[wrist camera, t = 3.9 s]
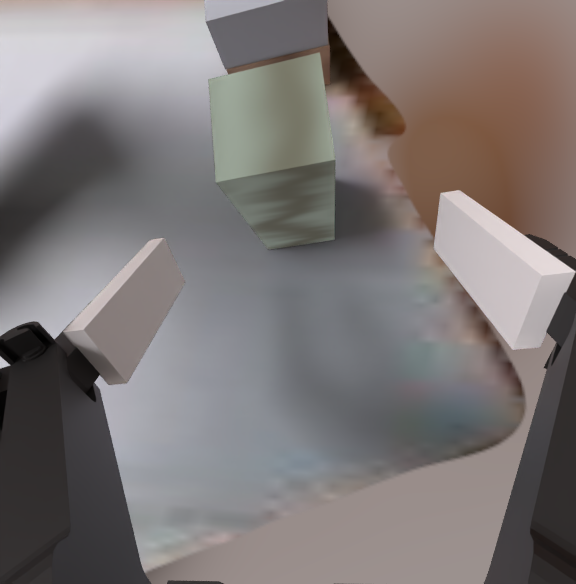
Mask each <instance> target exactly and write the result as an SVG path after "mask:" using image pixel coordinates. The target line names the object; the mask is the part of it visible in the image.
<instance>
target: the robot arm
mask: <svg viewBox="0 0 576 584" xmlns="http://www.w3.org/2000/svg"><path fill="white" fill-rule="evenodd" d="M434 250H435V251H436V252H437V254H438V255H439V256H440V257H441V259H442V260H443V261H444V263H445V264H446V265H447V266H448V268H449V269H450V270H451V272H452V273H453V274H454V275H455V277H456V278H457V279H458V281H459V282H460V283H461V284H462V286H463V287H464V288H465V289H466V291H467V292H468V293H469V295H470V296H471V297H472V298H473V300H474V301H475V302H476V304H477V305H478V306H479V307H480V309H481V310H482V311H483V313H484V314H485V315H486V316H487V318H488V319H489V320H490V321H491V323H492V324H493V325H494V327H495V328H496V329H497V330H498V332H499V333H500V334H501V335H502V337H503V338H504V339H505V341H506V342H507V343H508V345H509V346H510V347H511V348H512V350H517V349H528V348H540V347H541V344H542V342H543V340H544V338H545V336H546V334H547V333H548V334H549V335H550V336H551V337H552V338H553V339H554V340H555V341H556V342H557V343H556V345H555V347H554V349H553V351H552V352H551V354H550V356H549V358H548V360H547V362H546V364H545V366H544V368H546V369H547V371H546V374H545V378H544V382H543V385H542V388H541V392H540V395H539V399H538V402H537V406H536V409H535V413H534V416H533V419H532V424H531V427H530V430H529V434H528V437H527V440H526V444H525V447H524V451H523V454H522V458H521V461H520V465H519V468H518V471H517V475H516V478H515V482H514V485H513V489H512V492H511V496H510V499H509V503H508V506H507V510H506V513H505V516H504V520H503V523H502V527H501V531H500V534H499V537H498V541H497V544H496V548H495V551H494V554H493V558H492V561H491V565H490V568H489V571H488V574H487V577H486V580H485V582H484V584H576V259H575V258H573V257H572V256H568V254H567V253H565V252H564V251H562V250H561V249H558V247H556V246H555V245H553V244H552V243H550V242H549V241H547V240H545V239H542V238H539V237H536V236H533V235H530V234H528V235H523V234H521V233H520V232H518V231H517V230H515V229H514V228H513V227H511V226H510V225H508V224H507V223H505V222H504V221H503V220H501V219H500V218H498V217H497V216H495V215H494V214H492V213H491V212H490V211H488V210H487V209H485V208H484V207H483V206H481V205H480V204H478V203H477V202H475V201H474V200H473V199H471V198H470V197H468V196H467V195H465V194H464V193H462V192H461V191H460V190H457V191H451V192H444V193H441V194H440V202H439V210H438V218H437V226H436V234H435V242H434ZM184 284H185V280H184V278H183V276H182V274H181V272H180V270H179V268H178V265H177V263H176V261H175V259H174V257H173V255H172V253H171V251H170V249H169V246H168V244H167V242H166V240H165V238H159V239H152V240H150V241H149V242H148V243H147V244H146V245H145V246H144V247H143V248H142V249H141V250H140V251H139V252H138V253H137V254H136V255H135V256H134V257H133V259H132V260H131V261H130V262H129V263H128V264H127V265H126V266H125V267H124V268H123V269H122V270H121V271H120V272H119V273H118V274H117V275H116V276H115V277H114V278H113V279H112V281H111V282H110V283H109V284H108V285H107V286H106V287H105V288H104V289H103V290H102V291H101V292H100V293H99V294H98V295H97V296H96V297H95V298H94V299H93V300H92V301H91V302H90V303H89V304H88V305H87V306H86V307H85V308H84V309H83V311H82V312H81V313H80V314H79V315H78V316H77V317H76V318H75V319H74V320H73V321H72V322H71V323H70V324H69V325H68V326H67V327H66V328H65V329H64V330H63V331H62V333H61V334H60V335H59V336H58V337H57V338H56V339H55V340H54V339H53V338H52V337H51V336H50V334H49V333H48V332H47V331H46V330H45V329H44V328H43V327H42V326H41V325H40V324H39V323H38V322H29V323H25V324H22V325H19V326H17V327H15V328H13V329H11V330H9V331H8V332H6V333H5V334H3V335H2V336H0V356H1V357H2V358H3V359H4V360H5V361H7V362H8V363H9V364H10V366H7V367H4V368H1V369H0V584H151V582H150V581H149V579H148V578H147V577H146V575H145V573H144V571H143V568H142V565H141V562H140V558H139V553H138V549H137V545H136V541H135V536H134V532H133V528H132V524H131V520H130V515H129V511H128V507H127V503H126V498H125V494H124V490H123V486H122V482H121V477H120V473H119V469H118V465H117V461H116V456H115V452H114V448H113V444H112V439H111V435H110V431H109V427H108V423H107V418H106V414H105V410H104V406H103V401H102V397H101V393H100V389H99V388H98V386H97V385H96V384H95V383H94V382H95V381H96V379H97V378H98V376H99V375H100V376H101V377H102V378H103V379H104V380H105V381H106V382H107V384H108V385H113V384H125V383H128V381H129V379H130V378H131V376H132V374H133V372H134V371H135V369H136V367H137V365H138V364H139V362H140V360H141V359H142V357H143V355H144V353H145V352H146V350H147V348H148V346H149V345H150V343H151V341H152V340H153V338H154V336H155V334H156V333H157V331H158V329H159V327H160V326H161V324H162V322H163V320H164V319H165V317H166V315H167V314H168V312H169V310H170V308H171V307H172V305H173V303H174V301H175V300H176V298H177V296H178V295H179V293H180V291H181V289H182V288H183V286H184ZM167 584H223V583H221V582H217V581H168V582H167Z"/></svg>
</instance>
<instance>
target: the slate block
mask: <svg viewBox="0 0 576 584" xmlns="http://www.w3.org/2000/svg"><path fill="white" fill-rule="evenodd" d="M204 4H205V18H206V23H207V26H208V28H209V31H210V33H211V36H212V38H213V41H214V43H215V45H216V48H217V50H218V53H219V55H220V58H221V60H222V63H223V65H224V67H225V70H226V69H230V68H234V67H238V66H242V65H246V64H251V63H255V62H259V61H263V60H267V59H271V58H276V57H280V56H284V55H288V54H292V53H297V52H301V51H305V50H309V49H313V48H317V47H322V46H326V45H328V14H327V0H204Z"/></svg>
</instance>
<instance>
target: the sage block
mask: <svg viewBox="0 0 576 584" xmlns="http://www.w3.org/2000/svg"><path fill="white" fill-rule="evenodd" d="M208 82H209V96H210V110H211V124H212V138H213V152H214V166H215V179H216V183H217V185H218V186H219V187H220V188H221V190H222V191H223V192H224V194H225V195H226V196H227V197H228V199H229V200H230V201H231V203H232V204H233V205H234V206H235V208H236V209H237V210H238V212H239V213H240V214H241V215H242V217H243V218H244V219H245V221H246V222H247V223H248V224H249V226H250V227H251V228H252V230H253V231H254V232H255V233H256V235H257V236H258V237H259V239H260V240H261V241H262V242H263V244H264V245H265V246H266V248H267V249H268V250H271V249H278V248H285V247H291V246H298V245H304V244H311V243H318V242H324V241H331V240H335V154H334V147H333V140H332V133H331V126H330V119H329V112H328V105H327V98H326V92H325V85H324V78H323V71H322V64H321V57H320V52H319V53H315V54H311V55H307V56H303V57H299V58H294V59H290V60H286V61H282V62H278V63H274V64H270V65H266V66H261V67H257V68H253V69H249V70H245V71H241V72H237V73H232V74H228V75H224V76H220V77H216V78H212V79H208Z"/></svg>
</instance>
